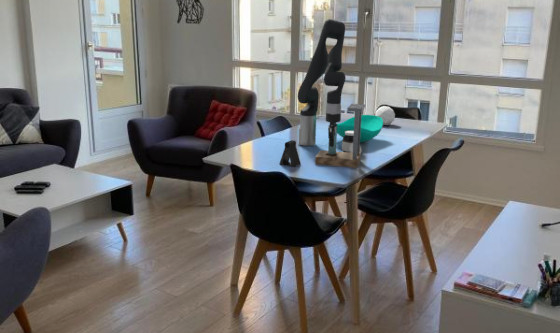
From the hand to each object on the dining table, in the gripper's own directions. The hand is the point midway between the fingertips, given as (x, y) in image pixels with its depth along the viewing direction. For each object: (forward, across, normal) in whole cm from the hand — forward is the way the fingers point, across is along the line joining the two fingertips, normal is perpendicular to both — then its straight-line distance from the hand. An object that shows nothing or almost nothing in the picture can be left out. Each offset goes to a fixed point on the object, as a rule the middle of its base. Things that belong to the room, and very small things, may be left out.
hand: (332, 145), depth 282 cm
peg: (+4, 0, 0) cm, 4 cm away
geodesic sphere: (+9, -108, +18) cm, 110 cm away
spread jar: (+9, -21, +8) cm, 24 cm away
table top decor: (+9, -51, +6) cm, 52 cm away
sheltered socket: (+9, 0, +4) cm, 10 cm away
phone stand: (+9, +11, -19) cm, 24 cm away
